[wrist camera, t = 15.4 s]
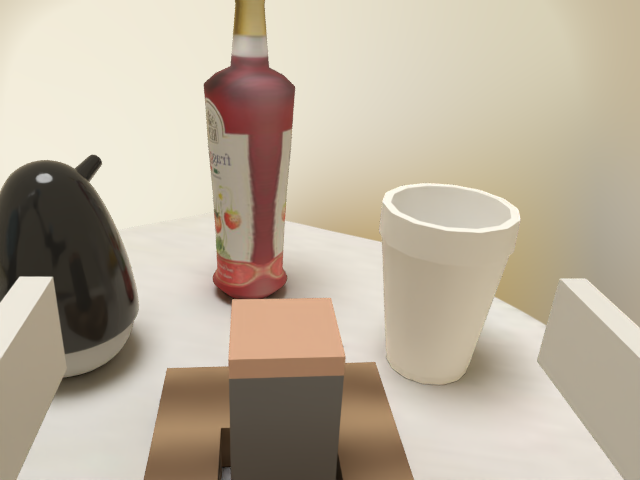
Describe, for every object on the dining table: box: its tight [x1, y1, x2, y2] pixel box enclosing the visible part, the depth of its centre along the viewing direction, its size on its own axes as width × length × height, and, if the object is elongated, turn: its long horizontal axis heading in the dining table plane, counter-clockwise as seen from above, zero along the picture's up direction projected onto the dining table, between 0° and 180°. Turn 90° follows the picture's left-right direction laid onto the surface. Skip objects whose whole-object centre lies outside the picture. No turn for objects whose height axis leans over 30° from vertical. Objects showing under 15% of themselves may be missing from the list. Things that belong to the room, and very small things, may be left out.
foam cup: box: [379, 183, 520, 385], centre depth 42 cm, size 10×9×13 cm
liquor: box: [204, 0, 295, 299], centre depth 48 cm, size 7×7×28 cm
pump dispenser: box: [0, 155, 139, 377], centre depth 40 cm, size 10×10×15 cm
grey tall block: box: [229, 298, 345, 480], centre depth 29 cm, size 5×5×12 cm
